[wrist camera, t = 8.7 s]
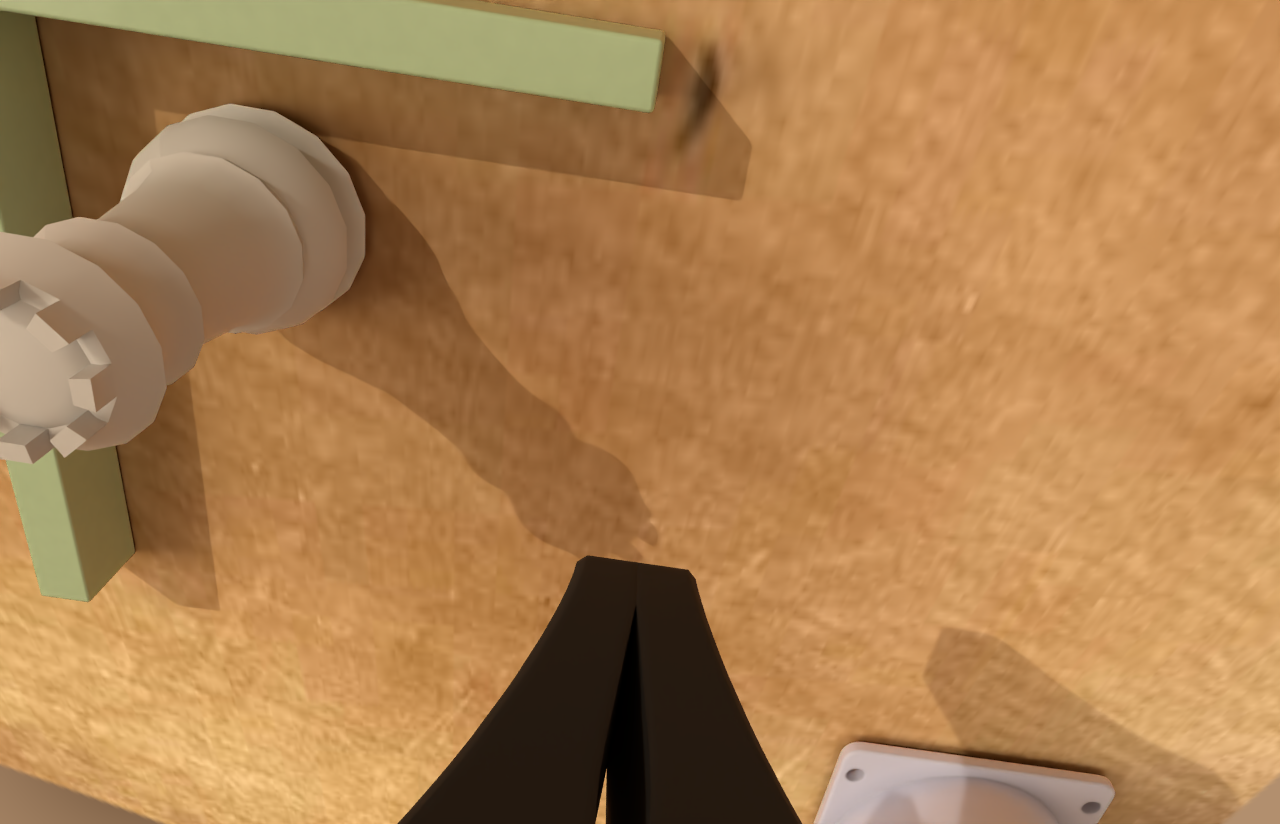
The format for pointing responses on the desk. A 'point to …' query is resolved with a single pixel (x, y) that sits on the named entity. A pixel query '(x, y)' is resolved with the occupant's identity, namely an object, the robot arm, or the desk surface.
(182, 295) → the rook chess piece
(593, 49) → the corner guide
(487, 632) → the desk surface
